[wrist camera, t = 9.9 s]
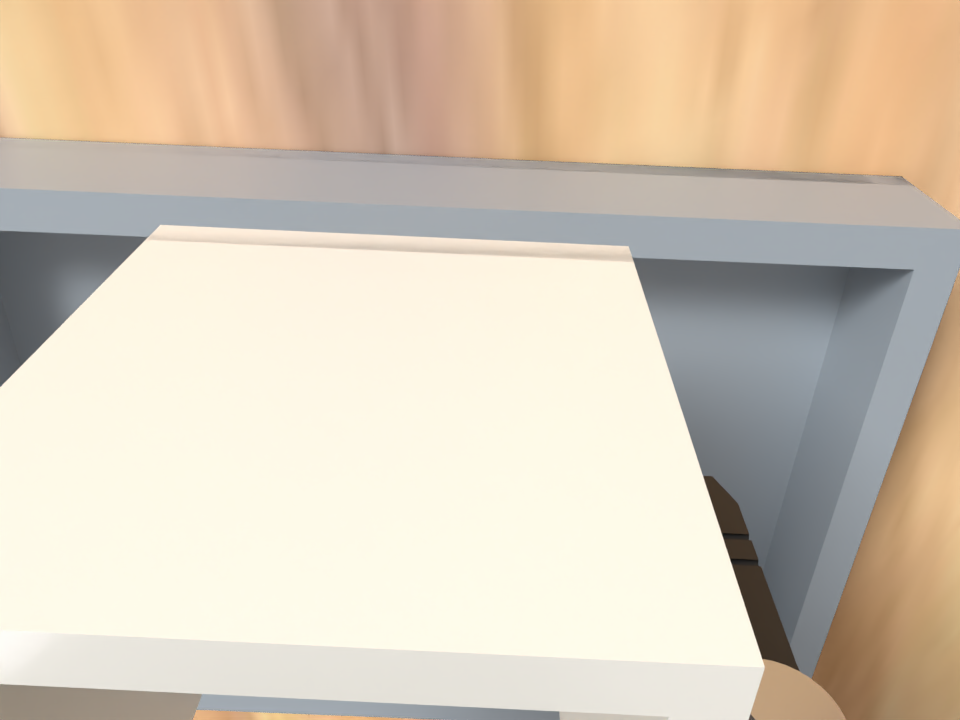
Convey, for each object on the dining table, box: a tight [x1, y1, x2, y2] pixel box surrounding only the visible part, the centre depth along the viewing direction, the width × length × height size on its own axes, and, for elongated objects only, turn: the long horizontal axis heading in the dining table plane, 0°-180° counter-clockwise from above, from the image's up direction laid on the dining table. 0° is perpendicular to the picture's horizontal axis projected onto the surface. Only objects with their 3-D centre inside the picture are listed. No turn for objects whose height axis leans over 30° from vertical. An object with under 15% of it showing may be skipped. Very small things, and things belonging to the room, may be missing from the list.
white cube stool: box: [0, 225, 765, 720], centre depth 9 cm, size 6×6×6 cm
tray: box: [0, 138, 960, 720], centre depth 19 cm, size 20×14×3 cm
